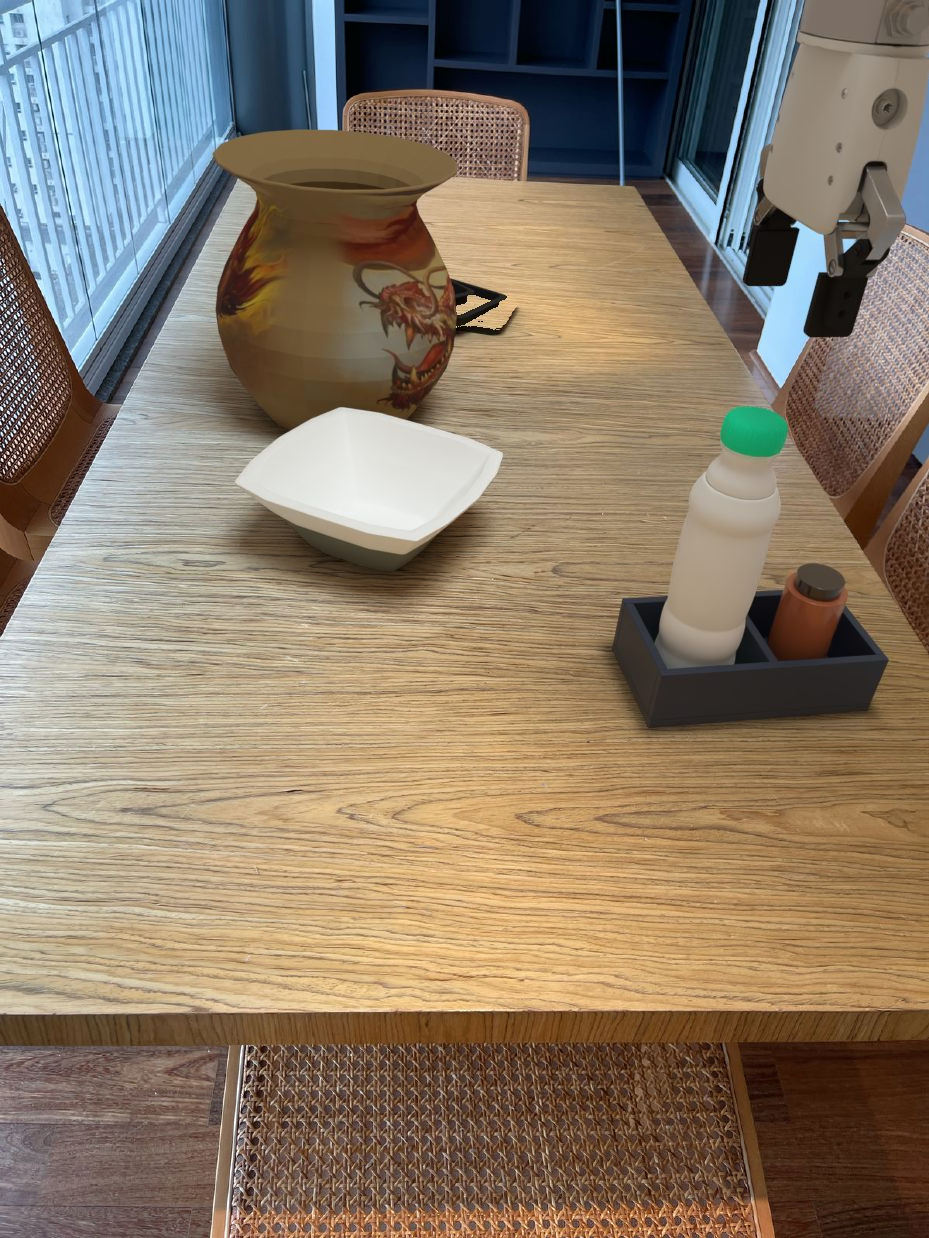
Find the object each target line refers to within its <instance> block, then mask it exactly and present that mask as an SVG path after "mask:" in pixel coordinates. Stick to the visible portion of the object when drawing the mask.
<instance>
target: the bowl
mask: <svg viewBox="0 0 929 1238" xmlns="http://www.w3.org/2000/svg"><path fill="white" fill-rule="evenodd" d="M503 458H504V452H502V451H500V450H498V449H495V448H493V447H490V446H488V445H487V444H484V443H481V442H480V441H477V440H476V439H473V438H470V437H466V436H463V435H460V434H456V433H453V432H450V431H446V430H443V429H440V428H436V427H432V426H429V425H426V424H422V423H418V422H415V421H411V420H408V419H407V420H404V419H400V418H397V417H393V416H389V415H386V414H382V413H378V412H371V411H364V410H358V409H351V408H345V407H340V408H337V409H334V410H332V411H329V412H327V413H324V414H322V415H320V416H317V417H315V418H312V419H310V420H308V421H307V422H305V423H303V424H301V425H300V426H298V427H296V428H294V429H293V430H291V431H290V430H288V431H287V432H286V433H284V434H282V435H281V436H278V437H277V438H275V440H273V441H272V442H271V443H270V444H269V445H267V446H266V447H265V448H264V449H262V451H260V452H259V453H258V454H257V455H256V456H255V457H253V458H252V459H251V460H250V461H249V462H248V463H247V465H246V466H245V467H244V469H243V470H242V471H241V473H240V474H239V475H238V476H237V477H236V479H235V480H234V485H235V486H236V487H237V488H239V489H240V490H242V492H244V493H245V494H247V495H249V497H251V498H253V499H254V500H255V501H256V502H258V503H260V504H261V505H262V506H264V507H265V508H266V509H268V510H269V511H271V512H272V513H273V514H276V516H278V517H280V518H281V519H282V520H283V521H284V522H285V523H286V524H287V525H288V526H289V527H290V528H291V529H292V530H293V531H294V532H296V534H298V536H300V537H301V538H302V539H303V540H304V541H305V543H307V544H308V545H309V546H311V547H313V548H314V549H316V550H318V551H320V552H321V553H323V554H326V555H329V556H331V557H334V558H337V559H340V560H343V561H346V562H349V563H352V564H355V565H358V566H360V567H364V568H367V569H370V570H374V571H381V572H386V573H393V572H395V571H397V570H398V569H400V568H402V567H403V566H405V565H407V564H408V563H410V562H411V561H412V560H413V559H415V558H416V556H419V554H420V553H421V552H423V551H424V550H425V548H426V547H427V546H428V545H429V544H430V543H431V542H432V541H433V540H434V539H435V538H436V537H437V535H439V534H440V533H441V532H442V531H443V530H444V529H445V528H448V526H449V525H451V524H452V523H453V522H454V521H456V519H458V518H459V517H460V516H462V515H463V514H464V513H465V512H466V511H468V510H469V509H470V508H471V507H472V506H473V505H475V504H476V503H477V502H478V501H479V500H480V499H481V498H482V496H483V495H484V493H485V492H486V490H487V489H488V488H489V486H490V485H491V484H492V483H493V481H494V480H495V478H496V477H497V475H498V472H499V469H500V467H501V464H502V462H503Z"/></svg>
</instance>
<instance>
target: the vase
mask: <svg viewBox="0 0 929 1238" xmlns="http://www.w3.org/2000/svg"><path fill="white" fill-rule="evenodd" d="M212 156H213V158H214V161H215V163H216V165H217V166H218V167H220V168H221V169H223V170H224V171H225V172H227V173H229V174H230V175H232V176H233V177H235V178H236V179H238V180H240V181H241V182H243V183H245V185H248V186H249V187H250V188H251V189H252V190H253V191H254V193H255V195H256V196H255V197H256V201H255V204H254V208H253V210H252V213H251V214H250V215H249V217H248V218H247V221H246V222H245V224H244V226H243V227H242V229H241V231H240V232H239V234H238V237H237V238H236V241H235V243H234V245H233V247H232V249H231V251H230V253H229V256H228V257H227V260H226V262H225V264H224V266H223V269H222V273H221V275H220V279H219V281H218V284H217V288H216V289H217V290H216V300H215V316H216V325H217V331H218V334H219V338H220V341H221V345H222V348H223V351H224V353H225V357H226V359H227V362H228V364H229V367H230V369H231V370H232V372H233V374H234V375H235V376H236V378H237V379H238V381H239V383H240V384H241V386H242V387H243V389H245V391H247V392H248V394H249V396H251V397H252V399H253V400H254V401H255V402H256V403H257V405H258V406H259V407H260V408H261V409H262V410H263V411H264V413H265V414H266V415H267V416H268V417H269V418H270V419H271V420H273V422H274V423H276V424H277V425H278V426H280V427H281V428H284V429H286V430H288V431H291V430H293V429H294V428H296V427H298V426H300V425H301V424H303V423H305V422H307V421H308V420H310V419H312V418H315V417H317V416H320V415H322V414H324V413H327V412H329V411H332V410H334V409H337V408H340V407H345V408H351V409H358V410H364V411H371V412H378V413H382V414H386V415H389V416H393V417H397V418H400V419H404V420H408V419H409V418H410V416H411V415H412V414H413V413H414V412H415V411H416V410H417V408H418V407H419V406H420V405H421V403H422V402H423V401H424V400H425V398H427V396H428V395H430V393H431V392H432V391H433V389H434V388H435V387H436V386H437V384H438V383H439V381H440V380H441V378H442V376H443V374H444V373H445V372H446V370H447V368H448V366H449V363H450V359H451V358H452V357H451V356H452V354H453V351H454V346H455V339H456V330H457V329H456V315H457V312H456V302H455V293H454V288H453V286H452V283H451V280H450V278H451V277H450V274H449V271H448V268H447V266H446V264H445V262H444V260H443V258H442V255H441V253H440V251H439V249H438V247H437V244H436V242H435V241H434V239H433V236H432V235H431V233H430V231H429V229H428V228H427V225H426V224H425V222H424V220H423V218H422V216H421V215H420V213H419V208H418V205H417V204H418V200H419V199H420V198H422V196H424V195H425V194H427V193H428V192H430V191H432V190H434V189H436V188H437V187H440V185H443V184H444V183H446V182H447V181H449V180H451V179H452V178H453V177H454V176H456V175H458V161H456V160H455V159H454V158H453V157H452V156H450V155H449V154H448V153H447V152H445V151H443V150H441V149H438V148H435V147H433V146H431V145H429V144H426V143H423V142H418V141H414V140H411V139H406V138H403V137H398V136H390V135H385V134H378V133H372V132H365V131H351V130H341V129H340V130H339V129H287V130H273V131H263V132H257V133H252V134H251V133H250V134H246V135H241V136H238V137H235V138H233V139H230V140H227V141H224V142H221V143H220V145H218V147H216V149H215V150H214V151H213V152H212Z"/></svg>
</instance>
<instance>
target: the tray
mask: <svg viewBox="0 0 929 1238" xmlns="http://www.w3.org/2000/svg"><path fill="white" fill-rule="evenodd" d="M450 280H451V283H452V286H453V288H454V293H455V302H456V306H457V305H461V304H465V303H466V302H467V296H468V295H476V296H479V297H481V298H485V299H488V300H491V301H490V302H487V303H485V304H483V305H481V306H479V307H477V308H475V309H472V310H470V311H468V312H466V313H464V314H461V315H456V326H457V328H456V330H458V331H463V332H468V333H476V334H481V335H488V336H494V335H495V336H496V335H498V334H500V332H501V331H502V329H503V328H496V329H501V330H496V329H495V330H493V329H490V328H483V327H477V326H471V327H470V326H468V327H467V326H461V325H465V324H466V323H468V322H470V321H472V320H473V319H476V318H477V317H479V316H480V315H483V314H485V313H486V312H488V311H489V310H491V309H493V308H496V307H498V305H499V302H500V301H502V300H505V299H506V298H507V296H506V295H507V294H504V293H502V292H497V291H495V290H491V289H488V288H484V287H481V286H477V285H475V284H471V283H468V282H465V281H461V280H457V279H455V278H451V277H450ZM478 322H480V321H478ZM481 322H483V321H481ZM458 326H459V327H458ZM460 326H461V327H460Z"/></svg>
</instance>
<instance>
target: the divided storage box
mask: <svg viewBox="0 0 929 1238" xmlns="http://www.w3.org/2000/svg"><path fill="white" fill-rule="evenodd" d="M782 592H783V589H771V590H769V589H768V590H756V593H755V596H754V599H753V601H752V604H751V606H750V609H749V611H748V613H747V616H746V618H745V629H744V633H743V637H742V640H741V642H740V645H739V647H738V649H737V651H736V656H735V662H734V664H733V665H718V666H703V667H689V668H674V669H667V667H666V665H665V663H664V661H663V659H662V657H661V655H660V653H659V651H658V650H657V648H656V646H655V644H654V643H655V640H656V638H657V635H658V633H659V625H660V618H661V614H662V610H663V607H664V605H665V602H666V600H667V599H668V595H660V596H658V595H657V596H643V597H641V596H640V597H624V598H622V599H621V602H620V608H619V613H618V617H617V623H616V626H615V627H616V628H615V633H614V637H613V643H612V647H611V651H612V653H613V655H614V657H615V660H616V661H617V662H616V663H617V664H618V666H619V668H620V671H621V673H622V675H623V676H624V679H625V680H626V684H627V685H628V687H629V690H630V691H631V694H632V696H633V698H634V700H635V703H636V704H637V706H638V709H639V710H640V713H641V715H642V718H643V719H644V721H645V724H646V726H647V728H648V729H657V728H658V729H660V728H671V727H685V726H697V725H707V724H708V725H709V724H721V723H733V722H747V721H758V720H770V719H772V720H773V719H784V718H797V717H809V716H810V717H811V716H822V715H834V714H835V715H836V714H846V713H847V714H848V713H859V712H868V711H869V708H870V706H871V703H872V701H873V700H874V699H873V698H874V696H875V694H876V691H877V689H878V687H879V685H880V683H881V680H882V677H883V675H884V673H885V670H886V668H887V666H888V663H889V661H890V659H889V658H888V656H887V655H886V654H885V653H884V652H883V650H882V649H881V648H880V646H879V645H878V644H877V643H876V642H875V640H874V639H873V637H872V636H871V635H870V634H869V632H867V630H866V629H865V628H864V626H863V625H862V624H861V622H859V620H858V619H857V618H856V616H855V615H854V614H853V613H852V611H851V610H850V609H849V607H848V606H847V604H845V607H844V610H843V612H842V615H841V618H840V620H839V623H838V626H837V628H836V631H835V634H834V636H833V639H832V642H831V644H830V647H829V650H828V652H827V655H826V658H820V659H806V660H791V661H778V660H777V658H776V657H775V655H774V654H773V652H772V651H771V649H770V648H769V646H768V645H767V643H766V641H767V638H768V635H769V632H770V629H771V626H772V623H773V620H774V617H775V614H776V611H777V607H778V604H779V601H780V598H781V595H782Z"/></svg>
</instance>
